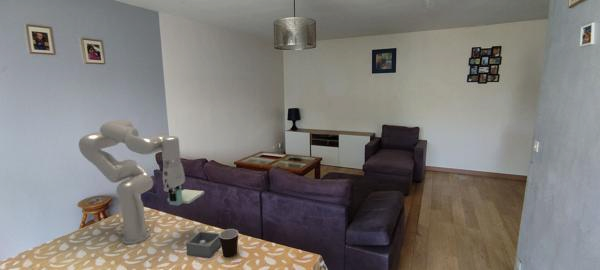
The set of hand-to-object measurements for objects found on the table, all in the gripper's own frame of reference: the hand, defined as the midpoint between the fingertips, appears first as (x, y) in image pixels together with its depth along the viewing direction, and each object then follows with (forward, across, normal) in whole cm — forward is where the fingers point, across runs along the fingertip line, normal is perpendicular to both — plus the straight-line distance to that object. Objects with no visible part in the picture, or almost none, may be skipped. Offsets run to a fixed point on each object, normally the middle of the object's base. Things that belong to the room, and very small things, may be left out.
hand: (175, 199), depth 133 cm
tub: (+24, -2, -15) cm, 28 cm away
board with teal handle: (+2, +7, 0) cm, 7 cm away
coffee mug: (+24, 0, -28) cm, 37 cm away
